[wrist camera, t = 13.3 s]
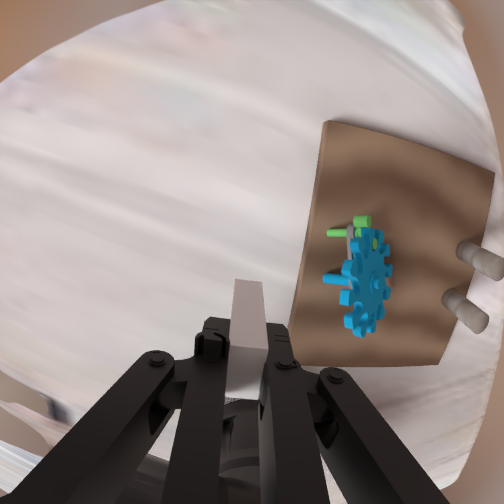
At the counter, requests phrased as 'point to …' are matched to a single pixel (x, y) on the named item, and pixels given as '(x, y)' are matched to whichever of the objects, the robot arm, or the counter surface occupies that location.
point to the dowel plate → (392, 249)
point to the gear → (362, 275)
